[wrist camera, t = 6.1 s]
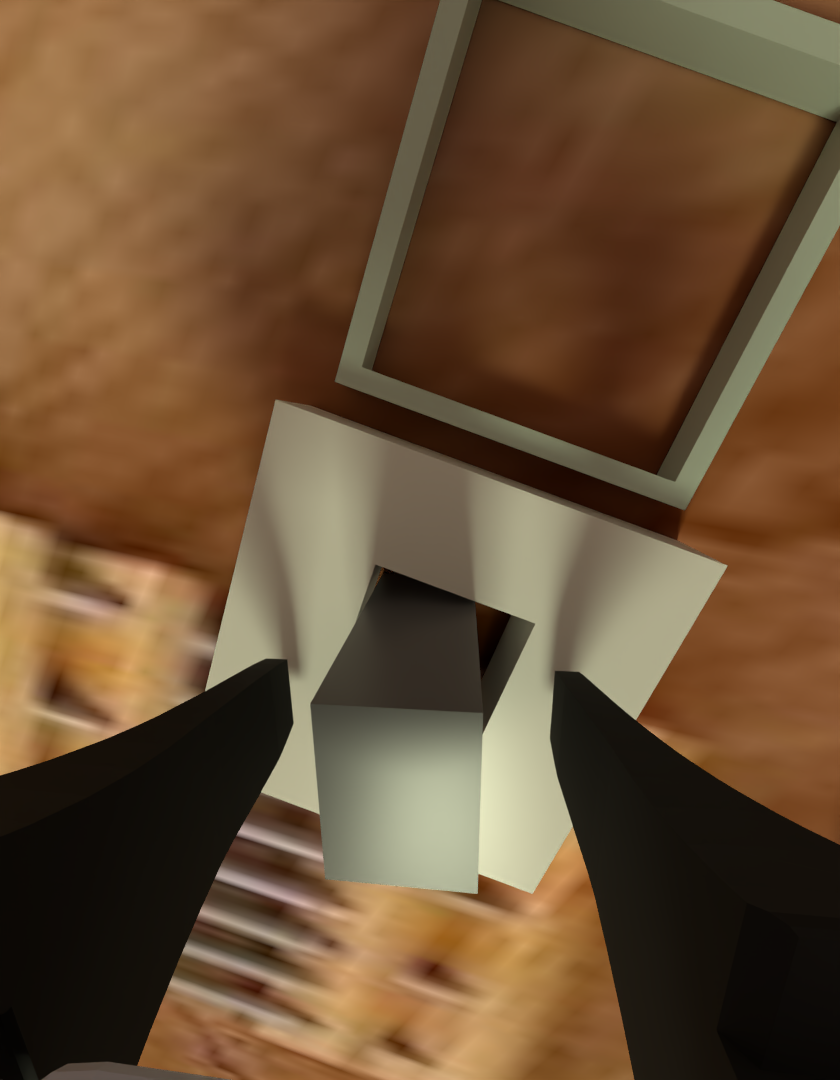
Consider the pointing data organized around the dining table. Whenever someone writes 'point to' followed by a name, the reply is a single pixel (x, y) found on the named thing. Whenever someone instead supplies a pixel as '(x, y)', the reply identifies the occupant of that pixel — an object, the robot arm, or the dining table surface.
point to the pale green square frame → (823, 205)
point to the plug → (402, 742)
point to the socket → (466, 570)
